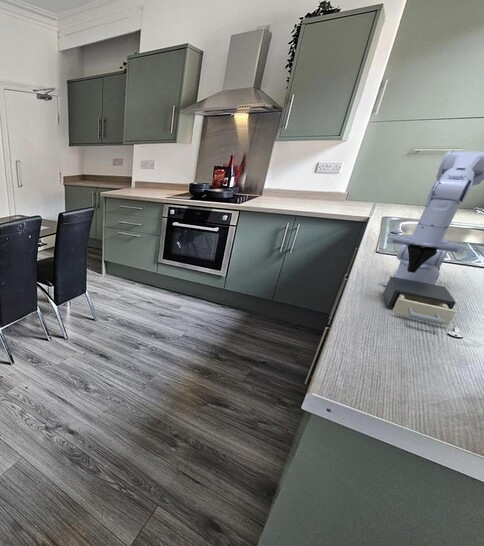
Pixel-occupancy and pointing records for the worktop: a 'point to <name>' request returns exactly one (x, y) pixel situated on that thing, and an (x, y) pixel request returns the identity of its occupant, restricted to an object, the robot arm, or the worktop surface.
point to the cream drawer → (423, 309)
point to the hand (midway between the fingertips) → (410, 271)
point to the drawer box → (416, 291)
